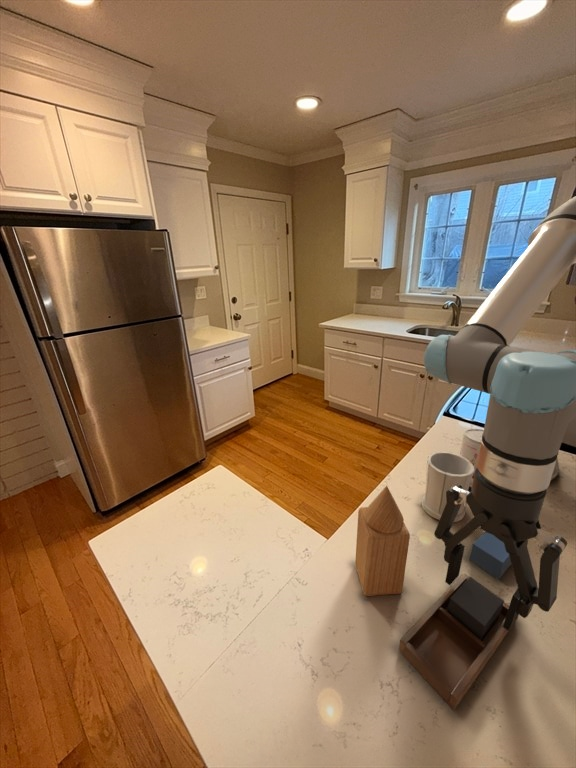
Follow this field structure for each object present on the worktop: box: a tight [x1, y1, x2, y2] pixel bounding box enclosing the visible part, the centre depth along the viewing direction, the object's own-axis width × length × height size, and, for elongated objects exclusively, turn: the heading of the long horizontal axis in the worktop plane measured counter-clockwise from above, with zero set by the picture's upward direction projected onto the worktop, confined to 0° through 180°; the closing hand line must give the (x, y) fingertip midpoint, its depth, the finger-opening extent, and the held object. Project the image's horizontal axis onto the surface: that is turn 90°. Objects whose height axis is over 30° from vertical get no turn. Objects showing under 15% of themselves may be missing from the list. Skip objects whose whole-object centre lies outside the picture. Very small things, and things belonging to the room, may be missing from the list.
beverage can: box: [459, 428, 484, 492], centre depth 74 cm, size 6×7×15 cm
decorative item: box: [354, 485, 411, 597], centre depth 53 cm, size 7×7×20 cm
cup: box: [420, 451, 474, 523], centre depth 69 cm, size 10×9×12 cm
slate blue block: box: [468, 531, 512, 580], centre depth 58 cm, size 6×5×4 cm
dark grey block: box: [447, 576, 505, 641], centre depth 49 cm, size 6×5×4 cm
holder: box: [398, 572, 510, 710], centre depth 47 cm, size 17×8×2 cm, turn 126°
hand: (479, 599), depth 48 cm, fingers open, 8 cm apart
